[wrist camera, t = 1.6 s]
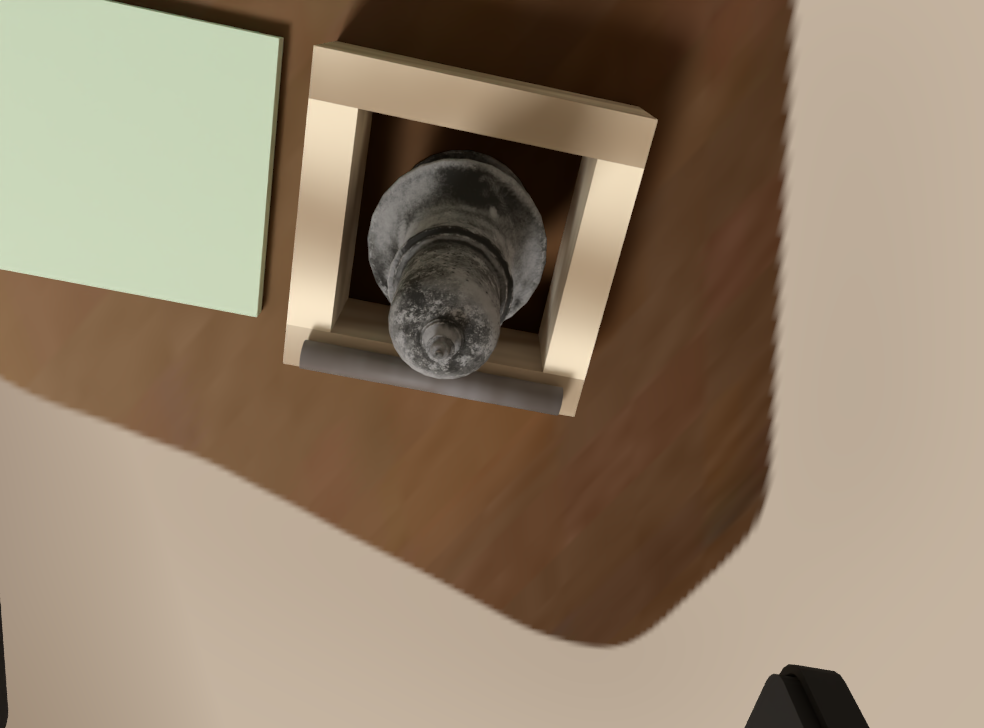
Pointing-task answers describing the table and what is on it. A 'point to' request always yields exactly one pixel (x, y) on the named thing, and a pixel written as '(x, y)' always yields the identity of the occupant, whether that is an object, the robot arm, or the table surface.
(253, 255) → the mat
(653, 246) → the table surface
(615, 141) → the holder
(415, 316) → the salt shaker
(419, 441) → the table surface
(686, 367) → the table surface
